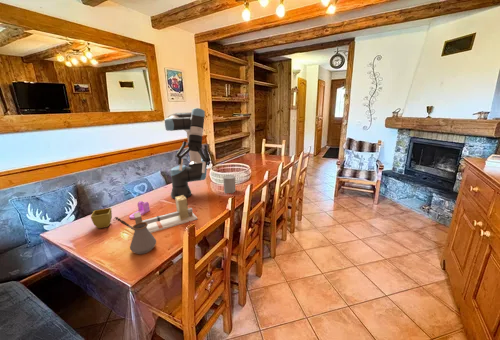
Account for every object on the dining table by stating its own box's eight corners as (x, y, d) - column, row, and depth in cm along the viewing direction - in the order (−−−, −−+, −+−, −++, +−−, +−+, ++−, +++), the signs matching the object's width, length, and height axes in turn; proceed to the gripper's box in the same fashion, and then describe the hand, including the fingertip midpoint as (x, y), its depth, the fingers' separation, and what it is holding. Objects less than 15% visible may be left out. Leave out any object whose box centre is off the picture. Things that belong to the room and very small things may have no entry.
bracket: (143, 209, 147) (141, 200, 146) (149, 210, 146) (148, 201, 144) (127, 218, 136) (125, 208, 134) (134, 219, 134) (132, 209, 132)
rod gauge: (135, 227, 124) (132, 212, 122) (191, 212, 141) (190, 198, 139) (137, 236, 115) (134, 219, 113) (197, 219, 132) (195, 204, 130)
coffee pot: (162, 244, 108) (158, 217, 104) (144, 259, 98) (139, 229, 94) (129, 237, 115) (124, 211, 111) (109, 250, 105) (103, 222, 101)
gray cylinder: (233, 193, 171) (233, 179, 167) (222, 193, 173) (221, 178, 169) (237, 189, 180) (236, 175, 176) (226, 189, 182) (225, 175, 178)
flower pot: (97, 223, 130) (94, 210, 127) (114, 220, 133) (111, 207, 131) (93, 231, 122) (90, 216, 120) (111, 227, 125) (108, 213, 123)
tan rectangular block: (177, 215, 134) (175, 196, 131) (185, 212, 137) (183, 195, 134) (180, 219, 129) (178, 200, 125) (188, 217, 131) (186, 198, 128)
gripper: (176, 129, 115) (172, 169, 114) (218, 138, 130) (214, 174, 129) (172, 131, 121) (168, 169, 120) (212, 140, 136) (209, 173, 135)
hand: (192, 171), depth 124 cm, fingers open, 13 cm apart
